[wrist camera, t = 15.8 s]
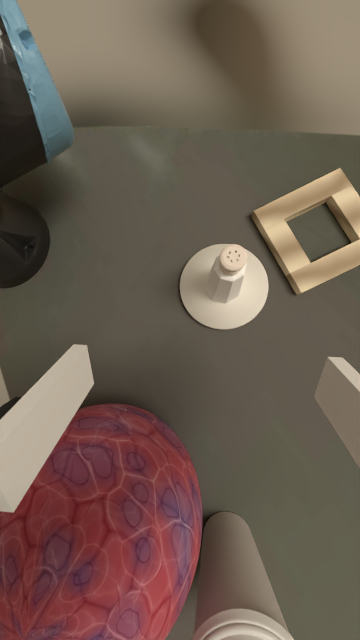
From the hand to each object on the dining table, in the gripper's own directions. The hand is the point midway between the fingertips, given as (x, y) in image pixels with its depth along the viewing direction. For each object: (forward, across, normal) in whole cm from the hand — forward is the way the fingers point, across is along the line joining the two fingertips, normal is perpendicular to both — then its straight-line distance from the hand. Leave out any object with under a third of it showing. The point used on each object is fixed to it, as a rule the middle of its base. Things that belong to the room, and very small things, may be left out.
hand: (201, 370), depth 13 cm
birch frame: (+27, +17, +6) cm, 33 cm away
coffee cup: (+5, +5, -31) cm, 32 cm away
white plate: (+23, +4, -2) cm, 23 cm away
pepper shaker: (+22, +4, -2) cm, 23 cm away
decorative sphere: (+10, -9, -24) cm, 28 cm away
